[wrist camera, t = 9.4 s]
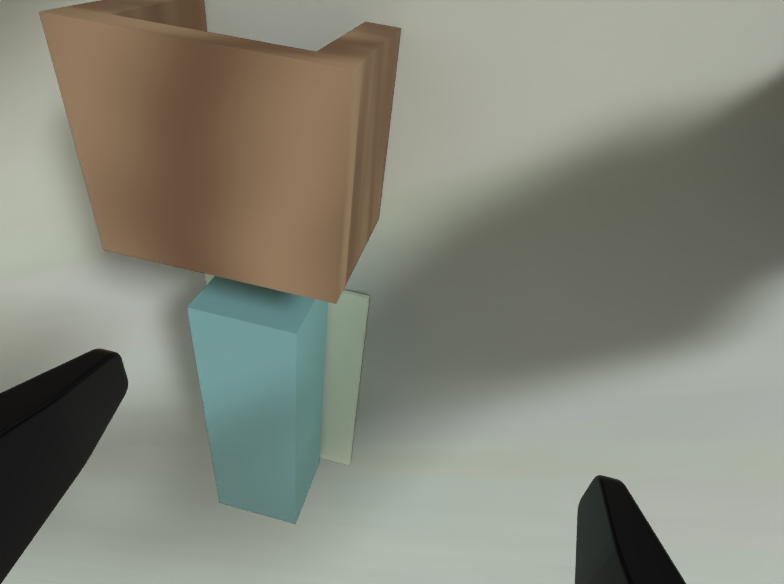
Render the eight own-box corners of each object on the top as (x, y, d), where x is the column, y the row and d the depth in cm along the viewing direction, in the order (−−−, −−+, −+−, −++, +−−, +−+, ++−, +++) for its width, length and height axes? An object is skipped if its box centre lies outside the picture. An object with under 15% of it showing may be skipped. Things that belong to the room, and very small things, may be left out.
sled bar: (329, 275, 22) (296, 333, 19) (319, 461, 31) (295, 524, 27) (234, 253, 22) (186, 307, 19) (250, 443, 31) (219, 502, 28)
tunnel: (401, 28, 16) (352, 69, 12) (378, 218, 20) (336, 303, 16) (170, -12, 17) (38, 11, 12) (194, 179, 21) (103, 249, 17)
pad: (369, 295, 23) (368, 298, 23) (350, 462, 31) (349, 465, 31) (204, 258, 24) (202, 260, 24) (227, 430, 32) (225, 432, 31)
